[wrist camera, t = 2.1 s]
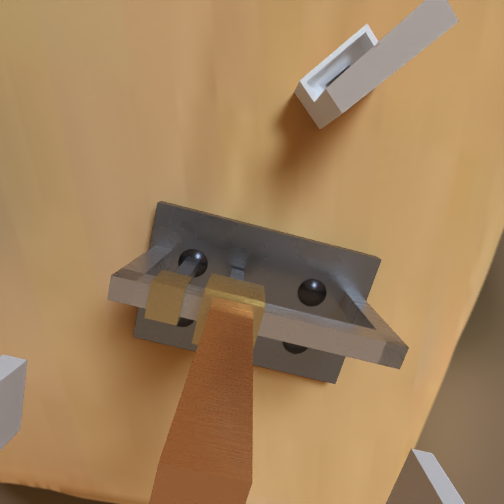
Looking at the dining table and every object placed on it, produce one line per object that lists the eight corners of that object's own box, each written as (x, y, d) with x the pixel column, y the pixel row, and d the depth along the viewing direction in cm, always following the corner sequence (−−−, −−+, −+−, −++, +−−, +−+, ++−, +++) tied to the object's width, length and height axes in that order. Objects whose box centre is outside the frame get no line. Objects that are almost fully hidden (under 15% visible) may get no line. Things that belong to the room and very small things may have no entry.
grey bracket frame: (151, 266, 27) (103, 308, 18) (156, 240, 27) (109, 271, 18) (354, 316, 28) (400, 378, 19) (363, 292, 28) (414, 345, 19)
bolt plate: (137, 330, 30) (132, 337, 29) (161, 201, 27) (157, 202, 26) (332, 376, 31) (335, 384, 30) (376, 256, 28) (381, 260, 27)
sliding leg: (212, 289, 27) (116, 544, 8) (221, 251, 26) (138, 438, 7) (251, 298, 27) (246, 570, 8) (261, 261, 27) (281, 468, 8)
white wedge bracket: (443, 30, 22) (458, 21, 15) (326, 123, 28) (300, 146, 21) (417, -18, 21) (420, -49, 14) (303, 89, 27) (268, 101, 20)
